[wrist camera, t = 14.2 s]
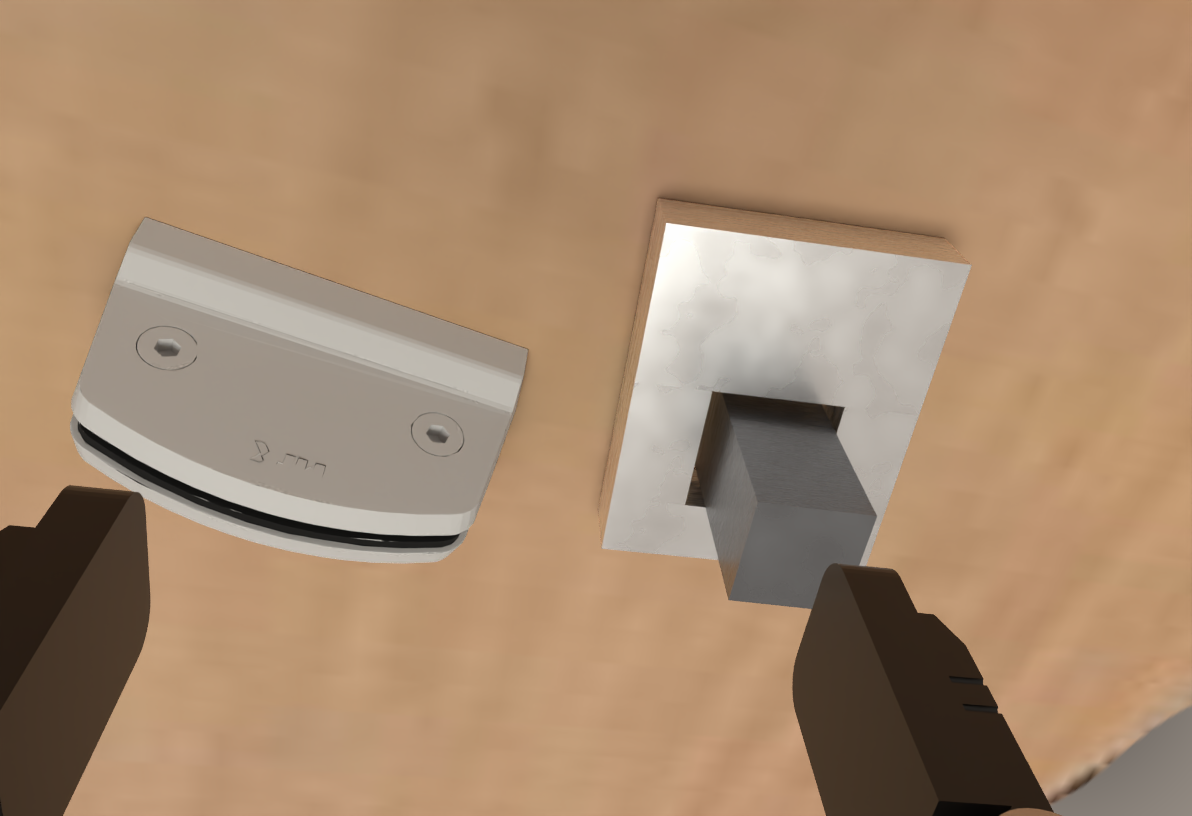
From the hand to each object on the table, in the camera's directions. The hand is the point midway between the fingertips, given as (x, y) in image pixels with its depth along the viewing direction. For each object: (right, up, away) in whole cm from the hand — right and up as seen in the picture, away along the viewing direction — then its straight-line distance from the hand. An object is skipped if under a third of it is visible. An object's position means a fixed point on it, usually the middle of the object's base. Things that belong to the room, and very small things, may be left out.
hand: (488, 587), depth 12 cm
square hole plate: (+8, +3, +33) cm, 34 cm away
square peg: (+8, +1, +34) cm, 35 cm away
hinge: (-10, +4, +32) cm, 34 cm away
